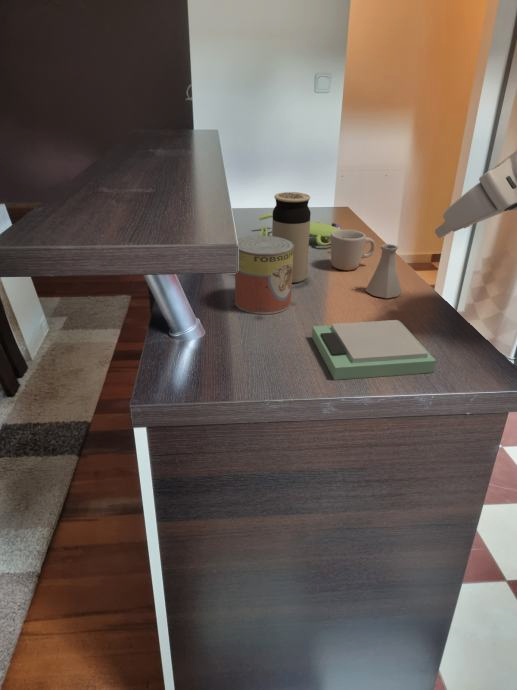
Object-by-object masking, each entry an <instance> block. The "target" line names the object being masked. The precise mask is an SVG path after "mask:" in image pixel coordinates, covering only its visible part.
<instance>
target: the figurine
mask: <svg viewBox="0 0 517 690" xmlns="http://www.w3.org/2000/svg"><path fill="white" fill-rule="evenodd" d="M258 217H259V219H258V221H263V220H266V219H270V218H273V212H271V213H267V214H264V215H260V216H258ZM336 230H342V225H340V224H338V223H335V222H332V223H331V224H328V223H323V222H316V221H311V220H310V231H309V238H312V237H315V242H316V244H317V245H318V246H319V247H325V246H328V245H331V233H332V232H333V231H336ZM264 233H265V234H264ZM268 233H269V231H268V227H267V226H264V227H262V228H261V229H260V232H259V236H269V235H268ZM325 240H327V241H326V242H324V241H325ZM322 241H323V242H322Z"/></svg>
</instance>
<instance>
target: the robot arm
mask: <svg viewBox="0 0 517 690" xmlns="http://www.w3.org/2000/svg"><path fill="white" fill-rule="evenodd" d="M478 181H479V182H478V183H477V184H475V185H474V186H472V187H471V188H470V189H469V190H467V191H466V192H465V193H464V194H463V195H462V196H460V197H459V198H458V199H457V200H455V201H454V202H453V203H452V204H451V205H450V206H449V207H447V208H446V209H445V211H444V212H443V214H442V218H443V220H444V221H443V222H442V223H441V225H440V226H438V227H437V228H435V229H434V234H436V236H437V238H439V239H441V238H444V237H446V236H448V235H449V234H450V233H452V232H458V231H460V230H462V229H466V228H469V227H471V226H473V225H475V224H477V223H479V222H483V221H485V220H487V219H490V218H493V217H495V216H498V215H500V214H503V213H504V212H507V211H517V150H516V151H514V152H513V153H511V154H510V155H509V156H507V157H506V158H504V159H503V160H501V162H499V163H498V164H496V165H495V166H494V167H493V168H491V169H489V170H488V171H486V172H485V173H483V174H482V175H481V176H480V177H479V178H478Z"/></svg>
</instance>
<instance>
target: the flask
mask: <svg viewBox="0 0 517 690" xmlns="http://www.w3.org/2000/svg"><path fill="white" fill-rule="evenodd" d="M380 249H381V255H380V259H379V261H378V265H377V267H376V269H375V270H374V273H373V274H372V277H371V279H370V280H369V282H368V284H367V286H366V288H365V290H364V291H365V292H367V293H368V294H370V295H372V296H373V297H378V298H383V299H391V298H397V297H399V296H400V295H401V294H402V286H401V283H400V279H399V275H398V269H397V264H396V253H397V252H396V251H397V250H398V249H399V246H398V245H395V244H390V243H385V244H382V245H381V246H380Z"/></svg>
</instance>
